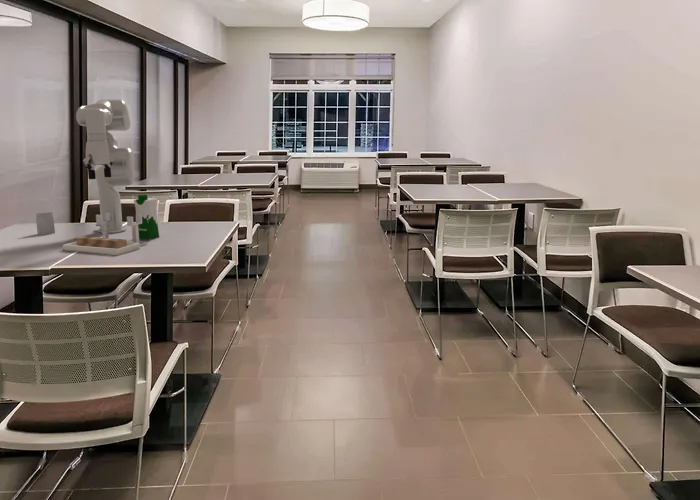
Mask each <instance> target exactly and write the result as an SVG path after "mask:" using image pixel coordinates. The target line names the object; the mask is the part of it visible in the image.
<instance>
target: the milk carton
mask: <svg viewBox="0 0 700 500" xmlns="http://www.w3.org/2000/svg"><path fill="white" fill-rule="evenodd" d="M158 200H159V198H155V197H154V198H153V197H152V198H151V197H148V194H138V195H137V198H136V199H135V198H134V199H133V204H134V207H135V216H136V215H142V224H138V230H139V240H140V239H142V240H153V239H156V237H157V238H160V232H159V225H158V224H159V223H158V221H159V220H158V210H157V209H158Z"/></svg>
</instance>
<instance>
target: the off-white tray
mask: <svg viewBox="0 0 700 500" xmlns="http://www.w3.org/2000/svg"><path fill="white" fill-rule="evenodd" d="M137 249H138V250H141V247H140V243H131V242H127V246H126V247H122V248H119V249H113V248H101V247H89V246H77V240H76V241H74V242H73V241H72V242H69V243H65V244H62V251H66V252H75V253H76V252H77V253H86V252H87V253H88V254H102V255H110V254H111V255H112V256H121V255H124V254H127V252H128V253H130V252H133V251H138V250H137ZM123 253H124V254H123ZM120 254H121V255H120Z"/></svg>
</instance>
